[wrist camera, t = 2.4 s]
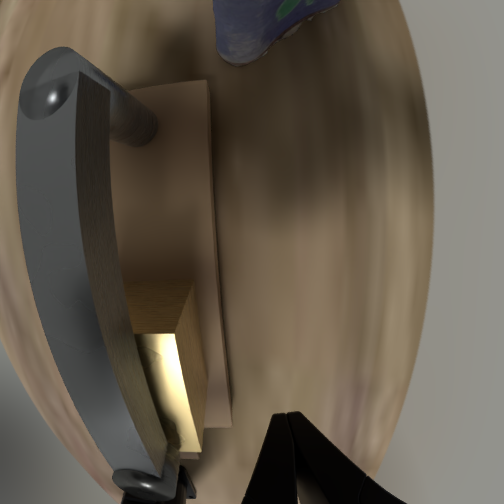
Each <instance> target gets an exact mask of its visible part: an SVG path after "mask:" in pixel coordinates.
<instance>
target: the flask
mask: <svg viewBox="0 0 504 504" xmlns="http://www.w3.org/2000/svg"><path fill="white" fill-rule="evenodd" d="M339 1H340V0H213V11H214V15H215V25H216V49H217V52H218V53H219V55H220V56H221V57H222V58H223V59H224V60H225V61H226V62H227V63H230V64H232V65H234V66H241V65H247V64H249V63H251V62H253V61H256V60H257V59H258V58H260V57H262V56H264V55H265V54H267V53H268V52H267V50H268V48H269V47H270V46H272V45H273V44H275V43H277V41H280V40H282V39H285V38H287V37H288V36H290V35H293V33H294V32H296V31H297V30H298V28H299V26H300V25H301V23H302V22H303V21H305V20H310V21H312V18H313V17H314V15H316V14H318V13H325V11H327V10H329V9H332V8H334V7H336V6H338V4H339Z"/></svg>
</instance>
